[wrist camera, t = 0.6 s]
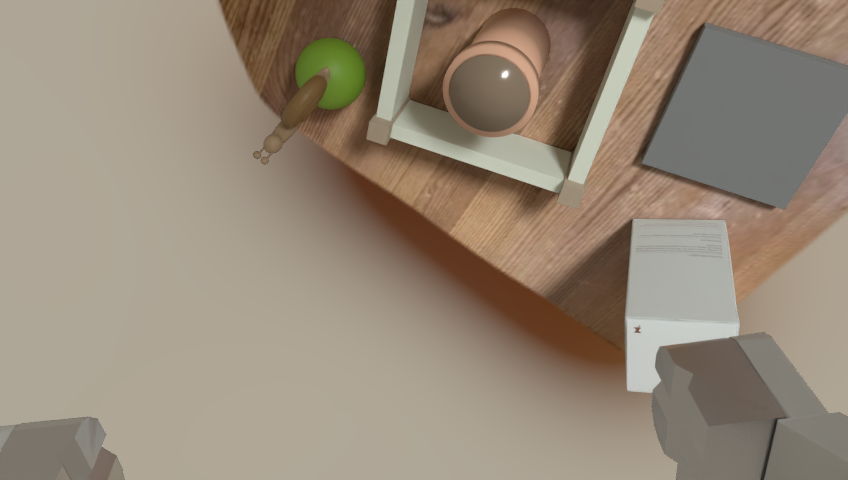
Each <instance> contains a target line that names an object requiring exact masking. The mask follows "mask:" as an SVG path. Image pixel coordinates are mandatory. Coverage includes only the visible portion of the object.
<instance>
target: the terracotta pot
mask: <svg viewBox="0 0 848 480" xmlns="http://www.w3.org/2000/svg"><path fill="white" fill-rule="evenodd" d="M549 53H550V37H549V33H548V31H547V28H546V27H545V25H544V24H543V22H542V21H541V20H540V19H539V18H538V17H537V16H535V15H534V14H532V13H531V12H529V11H526V10H523V9H518V8H509V9H504V10H500V11H498V12H496V13H495V14H493V15H492V16H490V17H489V18H488V19H487V20H486V21H485V23H484V24H483V26H482V27H481V29H480V31H479V32H478V34H477V35H476V37H475V39H474V40H473V42H472V43H471V45H470V46H468V47H466V48H465V49H463V50H462V51H461V52H460V53H459V54H458V55H457V56H456V57H455V59H454V60H453V62H452V63H451V65H450V66H449V68H448V70H447V72H446V74H445V77H444V81H443V98H444V102H445V105H446V107H447V109H448V111H449V113H450V114H451V116H452V117H453V119H454V120H455V121H456V122H457V123H458V124H459V125H460V126H462V127H463V128H465V129H466V130H468V131H470V132H471V133H474V134H476V135H480V136H484V137H502V136H507V135H510V134H512V133H514V132H516V131H518V130H519V129H521V128H522V127H523V126H524V125H525V124H526V123H527V122H528V121H529V120H530V118H531V117H532V115H533V113H534V110H535V108H536V105H537V102H538V99H539V95H540V81H539V80H540V77H541V75H542V72H543V69H544V67H545V64H546V61H547V59H548V56H549Z"/></svg>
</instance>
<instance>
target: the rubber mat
mask: <svg viewBox="0 0 848 480" xmlns="http://www.w3.org/2000/svg"><path fill="white" fill-rule="evenodd" d="M847 112H848V65H845V64H841V63H838V62H835V61H831V60H828V59H825V58H821V57H818V56H815V55H811V54H808V53H805V52H802V51H798V50H795V49H792V48H788V47H785V46H782V45H778V44H775V43H772V42H768V41H765V40H762V39H758V38H755V37H752V36H748V35H745V34H742V33H739V32H735V31H732V30H729V29H725V28H722V27H719V26H715V25H712V24H709V23H704V25H703V27H702V30H701V32H700V34H699V36H698V38H697V40H696V43H695V45H694V47H693V49H692V51H691V53H690V55H689V58H688V60H687V62H686V64H685V66H684V68H683V70H682V73H681V75H680V77H679V79H678V81H677V83H676V86H675V88H674V90H673V92H672V94H671V96H670V98H669V101H668V103H667V105H666V107H665V109H664V111H663V113H662V116H661V118H660V120H659V122H658V124H657V126H656V129H655V131H654V133H653V135H652V137H651V139H650V141H649V144H648V146H647V148H646V150H645V152H644V154H643V156H642V164H645V165H648V166H651V167H654V168H658V169H661V170H664V171H667V172H670V173H673V174H676V175H679V176H682V177H685V178H688V179H692V180H695V181H698V182H701V183H704V184H707V185H710V186H713V187H716V188H719V189H722V190H726V191H729V192H732V193H735V194H738V195H741V196H744V197H747V198H750V199H753V200H756V201H760V202H763V203H766V204H769V205H772V206H775V207H778V208H781V209H784V210H785V208H786V207H787V205H788V203H789V202H790V200H791V199H792V197H793V196H794V194H795V193H796V191H797V190H798V188H799V186H800V185H801V183H802V182H803V180H804V179H805V177H806V176H807V174H808V173H809V171H810V170H811V168H812V166H813V165H814V163H815V162H816V160H817V159H818V157H819V156H820V154H821V153H822V151H823V149H824V148H825V146H826V145H827V143H828V142H829V140H830V139H831V137H832V136H833V134H834V132H835V131H836V129H837V128H838V126H839V125H840V123H841V122H842V120H843V119H844V117H845V115H846V114H847Z"/></svg>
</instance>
